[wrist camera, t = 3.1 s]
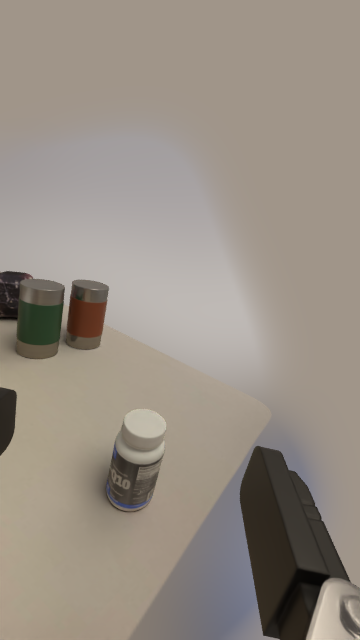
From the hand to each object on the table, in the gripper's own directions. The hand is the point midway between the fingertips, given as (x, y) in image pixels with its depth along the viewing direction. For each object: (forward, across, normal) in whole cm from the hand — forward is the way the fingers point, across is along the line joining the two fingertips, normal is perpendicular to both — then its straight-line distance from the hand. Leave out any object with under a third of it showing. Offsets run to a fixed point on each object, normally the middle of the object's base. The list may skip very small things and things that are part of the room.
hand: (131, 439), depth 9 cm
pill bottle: (+14, 0, +19) cm, 24 cm away
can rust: (+45, +16, +18) cm, 51 cm away
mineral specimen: (+50, +34, +19) cm, 64 cm away
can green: (+38, +22, +18) cm, 47 cm away
